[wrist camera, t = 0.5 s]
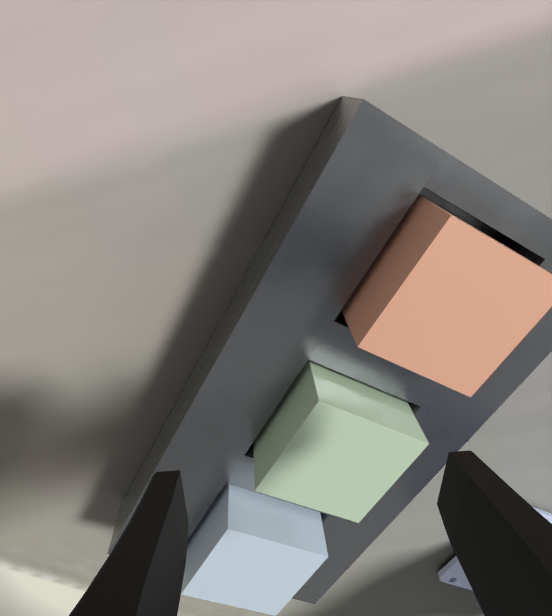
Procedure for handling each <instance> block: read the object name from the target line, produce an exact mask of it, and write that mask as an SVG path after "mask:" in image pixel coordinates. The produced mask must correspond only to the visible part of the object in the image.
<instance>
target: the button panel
mask: <svg viewBox="0 0 552 616" xmlns="http://www.w3.org/2000/svg"><path fill="white" fill-rule="evenodd" d="M418 194H419V195H420V196H422V197H424V198H425V199H427V200H429V201H431V202H432V203H434V204H436V205H437V206H439V207H441V208H442V209H444V210H446V211H448V212H449V213H451V214H453V215H454V216H456V217H458V218H459V219H461V220H463V221H464V222H466V223H468V224H470V225H471V226H473V227H475V228H476V229H478V230H480V231H481V232H483V233H485V234H487V235H488V236H490V237H492V238H493V239H495V240H497V241H498V242H500V243H502V244H504V245H505V246H507V247H509V248H510V249H512V250H514V251H515V252H517V253H519V254H520V255H522V256H524V257H525V258H527V259H528V260H530V261H532V262H533V263H535V264H537V265H538V266H540V267H541V268H543V269H545V270H546V271H548V272H549V273H551V274H552V219H550V218H549V217H547V216H546V215H544V214H543V213H541V212H539V211H538V210H536V209H535V208H533V207H532V206H530V205H528V204H527V203H525V202H524V201H522V200H521V199H519V198H517V197H516V196H514V195H513V194H511V193H510V192H508V191H507V190H505V189H503V188H502V187H500V186H499V185H497V184H496V183H494V182H492V181H491V180H489V179H488V178H486V177H485V176H483V175H481V174H480V173H478V172H477V171H475V170H474V169H472V168H470V167H469V166H467V165H466V164H464V163H463V162H461V161H459V160H458V159H456V158H455V157H453V156H452V155H450V154H448V153H447V152H445V151H444V150H442V149H441V148H439V147H438V146H436V145H434V144H433V143H431V142H430V141H428V140H427V139H425V138H423V137H422V136H420V135H419V134H417V133H416V132H414V131H412V130H411V129H409V128H408V127H406V126H405V125H403V124H401V123H400V122H398V121H397V120H395V119H394V118H392V117H390V116H389V115H387V114H386V113H384V112H383V111H381V110H379V109H378V108H376V107H375V106H373V105H372V104H370V103H369V102H367V101H365V100H364V99H359V98H352V97H345V96H342V98H341V99H340V101H339V103H338V105H337V107H336V109H335V110H334V112H333V114H332V116H331V118H330V120H329V122H328V123H327V125H326V127H325V129H324V131H323V133H322V134H321V136H320V138H319V140H318V142H317V144H316V146H315V147H314V149H313V151H312V153H311V155H310V157H309V158H308V160H307V162H306V164H305V166H304V168H303V169H302V171H301V173H300V175H299V177H298V179H297V181H296V182H295V184H294V186H293V188H292V190H291V192H290V193H289V195H288V197H287V199H286V201H285V203H284V204H283V206H282V208H281V210H280V212H279V214H278V216H277V217H276V219H275V221H274V223H273V225H272V227H271V228H270V230H269V232H268V234H267V236H266V238H265V240H264V241H263V243H262V245H261V247H260V249H259V251H258V252H257V254H256V256H255V258H254V260H253V262H252V263H251V265H250V267H249V269H248V271H247V273H246V275H245V276H244V278H243V280H242V282H241V284H240V286H239V287H238V289H237V291H236V293H235V295H234V297H233V298H232V300H231V302H230V304H229V306H228V308H227V310H226V311H225V313H224V315H223V317H222V319H221V321H220V322H219V324H218V326H217V328H216V330H215V332H214V333H213V335H212V337H211V339H210V341H209V343H208V345H207V346H206V348H205V350H204V352H203V354H202V356H201V357H200V359H199V361H198V363H197V365H196V367H195V369H194V370H193V372H192V374H191V376H190V378H189V380H188V381H187V383H186V385H185V387H184V389H183V391H182V392H181V394H180V396H179V398H178V400H177V402H176V404H175V405H174V407H173V409H172V411H171V413H170V415H169V416H168V418H167V420H166V422H165V424H164V426H163V427H162V429H161V431H160V433H159V435H158V437H157V439H156V440H155V442H154V444H153V446H152V448H151V450H150V451H149V453H148V455H147V457H146V459H145V461H144V463H143V464H142V466H141V468H140V470H139V472H138V474H137V475H136V477H135V479H134V481H133V483H132V485H131V486H130V488H129V490H128V492H127V494H126V496H125V498H124V499H123V501H122V504H121V508H120V511H119V515H118V518H117V522H116V525H115V529H114V532H113V536H112V540H111V543H110V547H109V550H108V554H111V552H112V550H113V549H114V547H115V545H116V543H117V542H118V540H119V538H120V537H121V535H122V533H123V532H124V530H125V528H126V526H127V525H128V523H129V521H130V519H131V518H132V516H133V514H134V512H135V510H136V508H137V506H138V505H139V503H140V501H141V499H142V497H143V495H144V493H145V491H146V489H147V487H148V485H149V483H150V480H151V478H152V476H153V475H154V474H155V473H156V472H161V471H176V470H180V472H181V478H182V485H183V491H184V497H185V503H186V509H187V515H188V521H189V525H188V539H189V538H190V536H191V535H192V533H193V532H194V530H195V529H196V527H197V526H198V524H199V523H200V521H201V520H202V518H203V517H204V515H205V514H206V512H207V511H208V509H209V508H210V506H211V505H212V503H213V502H214V500H215V499H216V497H217V496H218V494H219V493H220V491H221V490H222V488H223V487H224V485H225V484H230V485H233V486H236V487H239V488H243V489H246V490H249V491H252V492H255V493H259V494H262V495H265V496H268V497H272V498H275V499H278V500H281V501H284V502H288V503H291V504H294V505H297V506H301V507H304V508H307V509H310V510H314V511H317V512H320V514H321V520H322V525H323V530H324V536H325V541H326V547H327V552H328V558H327V559H326V560H325V561H324V562H323V563H322V565H321V566H320V567H319V568H318V569H317V570H316V571H315V572H314V574H313V575H312V576H311V577H310V578H309V579H308V580H307V581H306V583H305V584H304V585H303V586H302V587H301V588H300V589H299V590H298V591H297V593H296V594H295V595H294V596H293V597H292V598H293V599H297V600H301V601H305V602H309V603H313V604H315V603H316V602H317V601H318V600H319V599H320V598H321V597H322V596H323V594H324V593H325V592H326V591H327V590H328V589H329V588H330V587H331V586H332V585H333V584H334V583H335V582H336V581H337V580H338V578H339V577H340V576H341V575H342V574H343V573H344V572H345V571H346V570H347V569H348V568H349V567H350V566H351V565H352V564H353V562H354V561H355V560H356V559H357V558H358V557H359V556H360V555H361V554H362V553H363V552H364V551H365V550H366V549H367V548H368V546H369V545H370V544H371V543H372V542H373V541H374V540H375V539H376V538H377V537H378V536H379V535H380V534H381V533H382V532H383V530H384V529H385V528H386V527H387V526H388V525H389V524H390V523H391V522H392V521H393V520H394V519H395V518H396V517H397V516H398V514H399V513H400V512H401V511H402V510H403V509H404V508H405V507H406V506H407V505H408V504H409V503H410V502H411V501H412V500H413V498H414V497H415V496H416V495H417V494H418V493H419V492H420V491H421V490H422V489H423V488H424V487H425V486H426V485H427V484H428V482H429V481H430V480H431V479H432V478H433V477H434V476H435V475H436V474H437V473H438V472H439V471H440V470H441V469H442V468H443V466H444V465H445V464H446V462H447V458H448V453H449V452H458V450H459V449H460V448H461V447H462V446H463V445H464V444H465V443H466V442H467V441H468V440H469V439H470V438H471V437H472V436H473V434H474V433H475V432H476V431H477V430H478V429H479V428H480V427H481V426H482V425H483V424H484V423H485V422H486V421H487V420H488V418H489V417H490V416H491V415H492V414H493V413H494V412H495V411H496V410H497V409H498V408H499V407H500V406H501V405H502V404H503V402H504V401H505V400H506V399H507V398H508V397H509V396H510V395H511V394H512V393H513V392H514V391H515V390H516V389H517V387H518V386H519V385H520V384H521V383H522V382H523V381H524V380H525V379H526V378H527V377H528V376H529V375H530V374H531V373H532V371H533V370H534V369H535V368H536V367H537V366H538V365H539V364H540V363H541V362H542V361H543V360H544V359H545V358H546V357H547V355H548V354H549V353H550V352H551V351H552V307H551V308H550V309H549V310H548V311H547V312H546V314H545V315H544V316H543V317H542V318H541V319H540V320H539V321H538V323H537V324H536V325H535V326H534V327H533V328H532V329H531V330H530V331H529V333H528V334H527V335H526V336H525V337H524V338H523V339H522V340H521V342H520V343H519V344H518V345H517V346H516V347H515V348H514V349H513V351H512V352H511V353H510V354H509V355H508V356H507V357H506V358H505V359H504V361H503V362H502V363H501V364H500V365H499V366H498V367H497V368H496V370H495V371H494V372H493V373H492V374H491V375H490V376H489V377H488V379H487V380H486V381H485V382H484V383H483V384H482V385H481V386H480V388H479V389H478V390H477V391H476V392H475V393H474V394H473V395H472V396H471V397H469V396H467V395H464V394H462V393H460V392H458V391H455V390H453V389H451V388H449V387H446V386H444V385H442V384H440V383H437V382H435V381H433V380H431V379H428V378H426V377H424V376H422V375H419V374H417V373H415V372H413V371H410V370H408V369H406V368H404V367H401V366H399V365H397V364H395V363H392V362H390V361H388V360H386V359H383V358H381V357H379V356H377V355H374V354H372V353H370V352H368V351H365V350H363V349H361V348H359V347H357V345H356V342H355V340H354V338H353V336H352V333H351V331H350V329H349V327H348V324H347V322H346V320H345V317H344V315H343V313H342V311H341V310H342V308H343V307H344V305H345V304H346V302H347V301H348V299H349V298H350V296H351V295H352V293H353V292H354V290H355V289H356V287H357V286H358V284H359V283H360V281H361V280H362V278H363V277H364V275H365V274H366V272H367V271H368V269H369V268H370V266H371V265H372V263H373V262H374V260H375V259H376V257H377V256H378V254H379V253H380V251H381V250H382V248H383V247H384V245H385V244H386V242H387V241H388V239H389V238H390V236H391V235H392V233H393V232H394V230H395V229H396V227H397V226H398V224H399V223H400V221H401V220H402V218H403V217H404V215H405V214H406V212H407V211H408V209H409V208H410V206H411V205H412V203H413V202H414V200H415V199H416V197H417V196H418ZM308 360H311V361H313V362H316V363H318V364H320V365H323V366H325V367H327V368H330V369H332V370H335V371H337V372H339V373H342V374H344V375H347V376H349V377H351V378H354V379H356V380H358V381H361V382H363V383H366V384H368V385H370V386H373V387H375V388H378V389H380V390H382V391H385V392H387V393H389V394H392V395H394V396H397V397H399V398H401V399H404V400H406V401H407V402H408V404H409V406H410V408H411V410H412V412H413V414H414V416H415V418H416V420H417V421H418V423H419V425H420V427H421V429H422V431H423V433H424V435H425V437H426V439H427V441H428V443H429V445H428V446H427V447H426V448H425V449H424V450H423V451H422V453H421V454H420V455H419V456H418V457H417V458H416V459H415V460H414V461H413V463H412V464H411V465H410V466H409V467H408V468H407V469H406V470H405V472H404V473H403V474H402V475H401V476H400V477H399V478H398V479H397V481H396V482H395V483H394V484H393V485H392V486H391V487H390V488H389V489H388V491H387V492H386V493H385V494H384V495H383V496H382V497H381V498H380V500H379V501H378V502H377V503H376V504H375V505H374V506H373V507H372V509H371V510H370V511H369V512H368V513H367V514H366V515H365V516H364V518H363V519H362V520H361V521H360V522H359V523H357V522H354V521H351V520H347V519H344V518H341V517H338V516H334V515H331V514H328V513H325V512H322V511H318V510H315V509H312V508H309V507H305V506H302V505H299V504H296V503H293V502H289V501H286V500H283V499H280V498H277V497H273V496H270V495H267V494H264V493H260V492H257V491H255V481H254V452H253V442H254V440H255V439H256V437H257V436H258V434H259V433H260V431H261V430H262V428H263V427H264V425H265V424H266V422H267V421H268V419H269V418H270V416H271V415H272V413H273V412H274V410H275V409H276V407H277V406H278V404H279V403H280V401H281V400H282V398H283V397H284V395H285V394H286V392H287V391H288V389H289V388H290V386H291V385H292V383H293V382H294V380H295V379H296V377H297V376H298V374H299V373H300V371H301V370H302V368H303V367H304V365H305V364H306V362H307V361H308ZM187 541H188V540H187Z"/></svg>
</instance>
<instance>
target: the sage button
mask: <svg viewBox="0 0 552 616" xmlns="http://www.w3.org/2000/svg"><path fill="white" fill-rule="evenodd" d="M428 445H429V443H428V441H427V439H426V437H425V435H424V433H423V431H422V429H421V427H420V425H419V423H418V421H417V420H416V418H415V416H414V414H413V412H412V410H411V408H410V406H409V404H408V402H407V401H406V400H404V399H401V398H399V397H397V396H394V395H392V394H389V393H387V392H385V391H382V390H380V389H378V388H375V387H373V386H370V385H368V384H366V383H363V382H361V381H358V380H356V379H354V378H351V377H349V376H347V375H344V374H342V373H339V372H337V371H335V370H332V369H330V368H327V367H325V366H323V365H320V364H318V363H316V362H313V361H311V360H308V361H307V362H306V364H305V365H304V367H303V368H302V370H301V371H300V373H299V374H298V376H297V377H296V379H295V380H294V382H293V383H292V385H291V386H290V388H289V389H288V391H287V392H286V394H285V395H284V397H283V398H282V400H281V401H280V403H279V404H278V406H277V407H276V409H275V410H274V412H273V413H272V415H271V416H270V418H269V419H268V421H267V422H266V424H265V425H264V427H263V428H262V430H261V431H260V433H259V434H258V436H257V437H256V439H255V440H254V442H253V452H254V481H255V491H257V492H260V493H264V494H267V495H270V496H273V497H277V498H280V499H283V500H286V501H289V502H293V503H296V504H299V505H302V506H305V507H309V508H312V509H315V510H318V511H322V512H325V513H328V514H331V515H334V516H338V517H341V518H344V519H347V520H351V521H354V522H357V523H359V522H360V521H361V520H362V519H363V518H364V516H365V515H366V514H367V513H368V512H369V511H370V510H371V509H372V507H373V506H374V505H375V504H376V503H377V502H378V501H379V500H380V498H381V497H382V496H383V495H384V494H385V493H386V492H387V491H388V489H389V488H390V487H391V486H392V485H393V484H394V483H395V482H396V481H397V479H398V478H399V477H400V476H401V475H402V474H403V473H404V472H405V470H406V469H407V468H408V467H409V466H410V465H411V464H412V463H413V461H414V460H415V459H416V458H417V457H418V456H419V455H420V454H421V453H422V451H423V450H424V449H425V448H426V447H427V446H428Z"/></svg>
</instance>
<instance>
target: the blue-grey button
mask: <svg viewBox="0 0 552 616" xmlns="http://www.w3.org/2000/svg"><path fill="white" fill-rule="evenodd" d="M327 558H328V552H327V547H326V541H325V536H324V530H323V525H322V520H321V514H320V512H317V511H314V510H310V509H307V508H304V507H301V506H297V505H294V504H291V503H288V502H284V501H281V500H278V499H275V498H272V497H268V496H265V495H262V494H259V493H255V492H252V491H249V490H246V489H243V488H239V487H236V486H233V485H230V484H225V485H224V487H223V488H222V490H221V491H220V493H219V494H218V496H217V497H216V499H215V500H214V502H213V503H212V505H211V506H210V508H209V509H208V511H207V512H206V514H205V515H204V517H203V518H202V520H201V521H200V523H199V524H198V526H197V527H196V529H195V530H194V532H193V533H192V535H191V536H190V538H189V539H188V541H187V554H186V565H185V571H184V577H183V583H182V589H181V595H186V596H190V597H195V598H199V599H204V600H208V601H213V602H217V603H221V604H226V605H230V606H235V607H239V608H244V609H248V610H252V611H257V612H261V613H266V614H270V615H275V616H276V615H277V614H278V613H279V612H280V611H281V609H282V608H283V607H284V606H285V605H286V604H287V603H288V602H289V600H290V599H291V598H292V597H293V596H294V595H295V594H296V593H297V591H298V590H299V589H300V588H301V587H302V586H303V585H304V584H305V583H306V581H307V580H308V579H309V578H310V577H311V576H312V575H313V574H314V572H315V571H316V570H317V569H318V568H319V567H320V566H321V565H322V563H323V562H324V561H325V560H326V559H327Z"/></svg>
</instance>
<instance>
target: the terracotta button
mask: <svg viewBox="0 0 552 616" xmlns="http://www.w3.org/2000/svg"><path fill="white" fill-rule="evenodd" d="M551 307H552V274H551V273H549V272H548V271H546V270H545V269H543V268H541V267H540V266H538V265H537V264H535V263H533V262H532V261H530V260H528V259H527V258H525V257H524V256H522V255H520V254H519V253H517V252H515V251H514V250H512V249H510V248H509V247H507V246H505V245H504V244H502V243H500V242H498V241H497V240H495V239H493V238H492V237H490V236H488V235H487V234H485V233H483V232H481V231H480V230H478V229H476V228H475V227H473V226H471V225H470V224H468V223H466V222H464V221H463V220H461V219H459V218H458V217H456V216H454V215H453V214H451V213H449V212H448V211H446V210H444V209H442V208H441V207H439V206H437V205H436V204H434V203H432V202H431V201H429V200H427V199H425V198H424V197H422V196H420V195H419V194H418V196H417V197H416V199H415V200H414V202H413V203H412V205H411V206H410V208H409V209H408V211H407V212H406V214H405V215H404V217H403V218H402V220H401V221H400V223H399V224H398V226H397V227H396V229H395V230H394V232H393V233H392V235H391V236H390V238H389V239H388V241H387V242H386V244H385V245H384V247H383V248H382V250H381V251H380V253H379V254H378V256H377V257H376V259H375V260H374V262H373V263H372V265H371V266H370V268H369V269H368V271H367V272H366V274H365V275H364V277H363V278H362V280H361V281H360V283H359V284H358V286H357V287H356V289H355V290H354V292H353V293H352V295H351V296H350V298H349V299H348V301H347V302H346V304H345V305H344V307H343V308H342V310H341V311H342V313H343V315H344V317H345V320H346V322H347V324H348V327H349V329H350V331H351V333H352V336H353V338H354V340H355V342H356V345H357V347H359V348H361V349H363V350H365V351H368V352H370V353H372V354H374V355H377V356H379V357H381V358H383V359H386V360H388V361H390V362H392V363H395V364H397V365H399V366H401V367H404V368H406V369H408V370H410V371H413V372H415V373H417V374H419V375H422V376H424V377H426V378H428V379H431V380H433V381H435V382H437V383H440V384H442V385H444V386H446V387H449V388H451V389H453V390H455V391H458V392H460V393H462V394H464V395H467V396H469V397H471V396H472V395H473V394H474V393H475V392H476V391H477V390H478V389H479V388H480V386H481V385H482V384H483V383H484V382H485V381H486V380H487V379H488V377H489V376H490V375H491V374H492V373H493V372H494V371H495V370H496V368H497V367H498V366H499V365H500V364H501V363H502V362H503V361H504V359H505V358H506V357H507V356H508V355H509V354H510V353H511V352H512V351H513V349H514V348H515V347H516V346H517V345H518V344H519V343H520V342H521V340H522V339H523V338H524V337H525V336H526V335H527V334H528V333H529V331H530V330H531V329H532V328H533V327H534V326H535V325H536V324H537V323H538V321H539V320H540V319H541V318H542V317H543V316H544V315H545V314H546V312H547V311H548V310H549V309H550V308H551Z"/></svg>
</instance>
